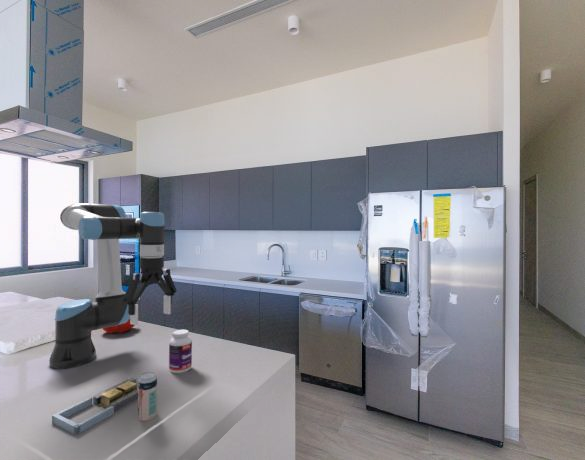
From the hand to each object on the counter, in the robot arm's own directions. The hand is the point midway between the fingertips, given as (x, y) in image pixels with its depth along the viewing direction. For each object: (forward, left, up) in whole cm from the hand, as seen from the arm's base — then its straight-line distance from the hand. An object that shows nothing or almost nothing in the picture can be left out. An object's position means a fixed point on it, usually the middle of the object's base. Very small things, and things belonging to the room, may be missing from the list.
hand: (151, 318), depth 103 cm
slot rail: (0, -10, -22) cm, 24 cm away
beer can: (+15, -13, -23) cm, 30 cm away
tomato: (-59, +29, -23) cm, 69 cm away
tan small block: (0, -14, -22) cm, 26 cm away
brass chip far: (0, -9, -22) cm, 24 cm away
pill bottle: (+1, +12, -23) cm, 26 cm away
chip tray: (0, -21, -22) cm, 31 cm away
